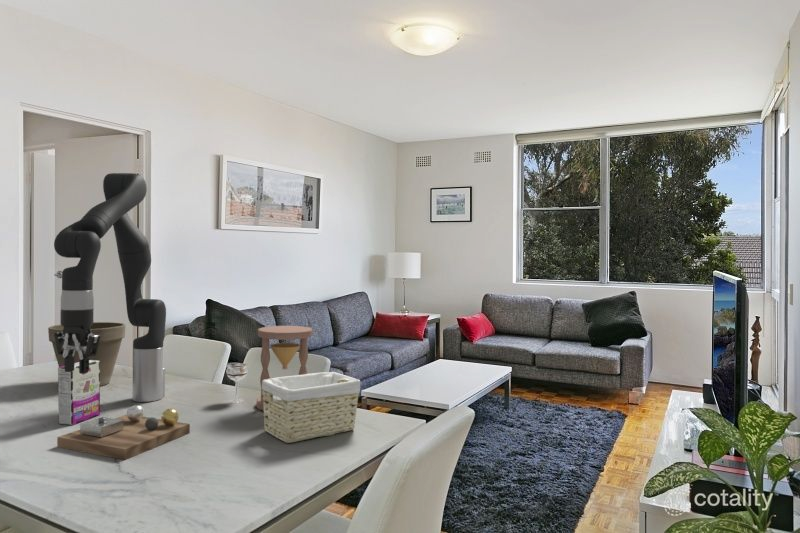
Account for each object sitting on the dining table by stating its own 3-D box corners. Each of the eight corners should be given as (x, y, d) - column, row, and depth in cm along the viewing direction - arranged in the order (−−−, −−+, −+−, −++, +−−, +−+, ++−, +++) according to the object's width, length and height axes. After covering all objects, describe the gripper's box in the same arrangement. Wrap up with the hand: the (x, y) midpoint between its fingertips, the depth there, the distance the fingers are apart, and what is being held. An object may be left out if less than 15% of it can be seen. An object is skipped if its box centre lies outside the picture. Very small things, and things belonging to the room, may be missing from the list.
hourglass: (305, 397, 197) (306, 324, 196) (316, 410, 180) (318, 331, 180) (253, 400, 190) (254, 326, 190) (259, 414, 174) (261, 333, 174)
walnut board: (127, 423, 163) (127, 414, 163) (189, 433, 155) (189, 423, 155) (57, 446, 142) (57, 436, 142) (125, 459, 135) (125, 449, 135)
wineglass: (250, 399, 192) (250, 363, 192) (242, 404, 186) (243, 367, 185) (230, 398, 193) (231, 362, 193) (222, 403, 186) (223, 366, 186)
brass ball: (169, 421, 157) (169, 406, 157) (182, 423, 155) (182, 407, 155) (157, 426, 153) (157, 410, 152) (170, 428, 151) (170, 411, 151)
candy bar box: (86, 413, 171) (86, 359, 171) (100, 415, 170) (101, 360, 170) (56, 424, 160) (57, 366, 160) (72, 425, 159) (72, 367, 159)
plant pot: (52, 379, 215) (53, 321, 214) (125, 374, 225) (125, 320, 224) (42, 394, 192) (43, 330, 191) (124, 389, 202) (124, 328, 202)
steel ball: (135, 418, 160) (135, 402, 159) (147, 420, 158) (148, 404, 158) (122, 422, 155) (123, 406, 155) (135, 424, 154) (135, 408, 154)
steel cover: (103, 425, 151) (103, 413, 151) (123, 429, 148) (123, 416, 148) (80, 433, 144) (80, 420, 144) (100, 437, 142) (101, 423, 142)
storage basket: (331, 417, 173) (332, 369, 173) (362, 431, 161) (363, 379, 160) (258, 431, 158) (259, 378, 158) (285, 448, 146) (286, 390, 145)
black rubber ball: (151, 427, 152) (151, 415, 152) (160, 428, 151) (161, 416, 151) (142, 430, 149) (142, 418, 149) (151, 432, 148) (151, 419, 148)
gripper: (109, 307, 150) (109, 372, 150) (69, 304, 155) (69, 367, 155) (85, 310, 143) (84, 377, 143) (44, 307, 148) (43, 372, 148)
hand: (76, 372), depth 149 cm, fingers open, 4 cm apart
